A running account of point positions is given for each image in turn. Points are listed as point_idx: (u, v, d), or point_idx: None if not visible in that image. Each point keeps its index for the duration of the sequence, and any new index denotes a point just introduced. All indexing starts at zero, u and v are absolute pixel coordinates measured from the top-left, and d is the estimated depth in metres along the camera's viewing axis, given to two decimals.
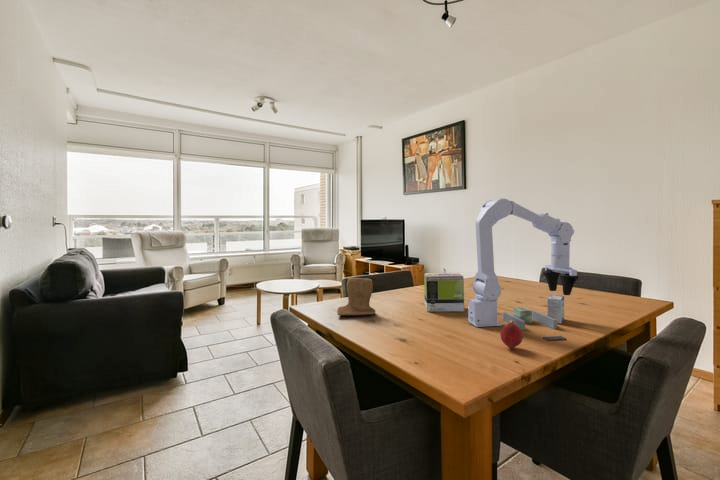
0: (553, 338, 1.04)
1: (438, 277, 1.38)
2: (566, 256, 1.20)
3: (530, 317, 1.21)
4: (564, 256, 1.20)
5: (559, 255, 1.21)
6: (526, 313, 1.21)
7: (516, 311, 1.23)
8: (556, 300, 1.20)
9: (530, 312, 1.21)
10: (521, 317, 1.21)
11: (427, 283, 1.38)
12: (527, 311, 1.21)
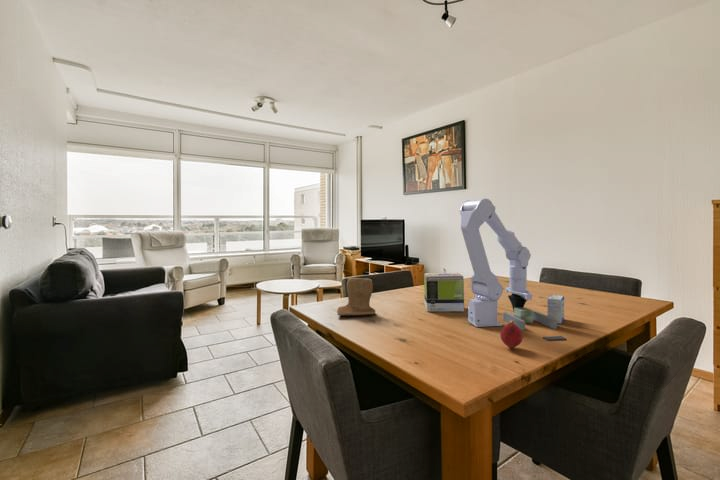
0: (553, 338, 1.04)
1: (438, 277, 1.38)
2: (523, 280, 1.23)
3: (531, 317, 1.21)
4: (521, 280, 1.23)
5: (518, 279, 1.23)
6: (527, 313, 1.21)
7: (517, 311, 1.23)
8: (556, 300, 1.20)
9: (531, 312, 1.21)
10: (522, 317, 1.21)
11: (427, 283, 1.38)
12: (528, 311, 1.21)
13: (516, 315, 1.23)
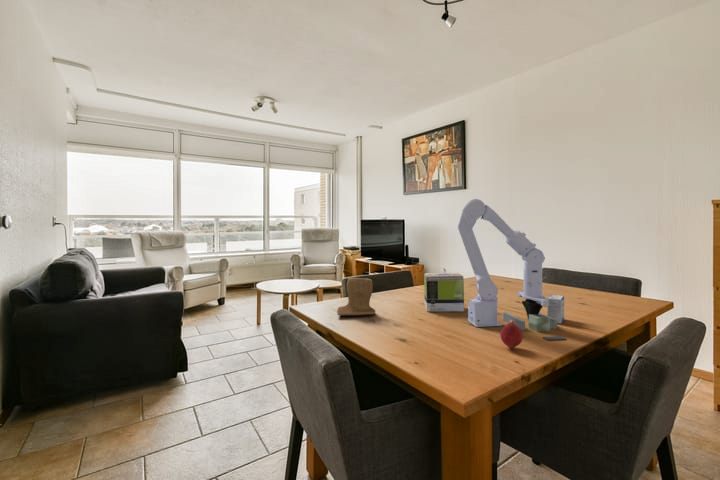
0: (553, 338, 1.04)
1: (438, 277, 1.38)
2: (538, 284, 1.14)
3: (547, 325, 1.12)
4: (536, 284, 1.14)
5: (528, 283, 1.15)
6: (543, 320, 1.11)
7: (532, 318, 1.14)
8: (556, 300, 1.20)
9: (547, 319, 1.12)
10: (538, 325, 1.11)
11: (427, 283, 1.38)
12: (544, 318, 1.12)
13: (531, 322, 1.14)
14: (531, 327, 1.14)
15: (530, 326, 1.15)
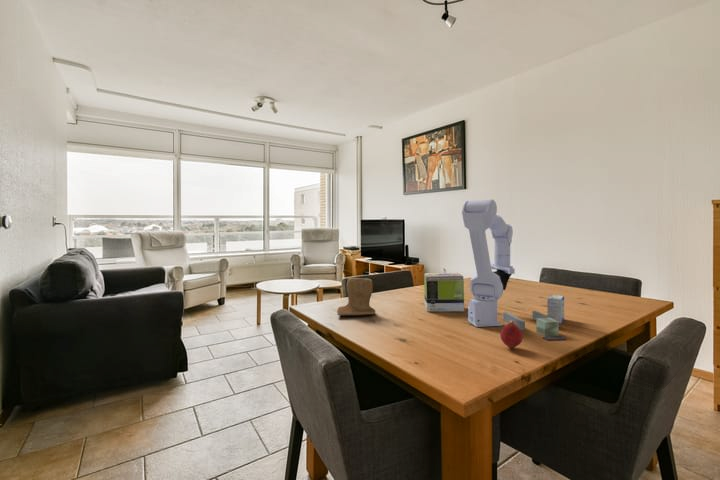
0: (553, 338, 1.04)
1: (438, 277, 1.38)
2: (506, 256, 1.30)
3: (556, 329, 1.07)
4: (505, 256, 1.30)
5: (506, 255, 1.30)
6: (552, 325, 1.07)
7: (540, 322, 1.09)
8: (556, 300, 1.20)
9: (556, 324, 1.07)
10: (546, 329, 1.07)
11: (427, 283, 1.38)
12: (553, 323, 1.07)
13: (539, 327, 1.10)
14: (539, 331, 1.10)
15: (538, 330, 1.10)
